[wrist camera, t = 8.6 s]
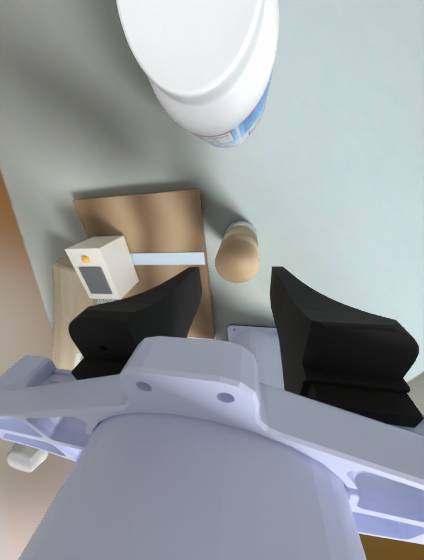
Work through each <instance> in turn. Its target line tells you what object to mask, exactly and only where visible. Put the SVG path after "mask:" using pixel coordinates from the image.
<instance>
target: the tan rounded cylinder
mask: <svg viewBox="0 0 424 560" xmlns="http://www.w3.org/2000/svg"><path fill="white" fill-rule="evenodd" d="M259 265H260V261H259V252H258V243H257V234H256V230H255V228H254V226H253V225H252V224H251V223H249V222H247V221H236V222H233V223H232V224H230V225H229V227H228V228H227V230H226V232H225V235H224V237H223V240H222V243H221V245H220V248H219V251H218V253H217V256H216V259H215V266H216V270H217V272H218V273H219V275H220V276H221V277H222V278H224V279H225V280H227V281H229V282H233V283H243V282H246V281H248V280H250V279H252V278H253V277H254V276H255V275H256V273H257V272H258V270H259Z"/></svg>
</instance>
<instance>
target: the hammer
mask: <svg viewBox="0 0 424 560" xmlns="http://www.w3.org/2000/svg"><path fill="white" fill-rule="evenodd" d="M53 283H54V330H53V353H52V362H53V363H54V364H55V366H56V368H57V369H65V370H73V369H74V368H75V367H76V366H77V365H78V363H79V362H80V361H81V360H82V359H83V358H84V357H83V355H82V354H81V352H80V351H79V349H78V348H77V346H76V345H75V344H74V342H73V341H72V339H71V337H70V335H69V330H68V327H69V323H70V322H71V321H72V320H73V319H74V318H75V317H77V316H78V315H79V314H80V313H81V312H83V311H84V310H85V309H86V308H87V307H89V306H94V305H97V299H93V298H89V296H88V294H87V292H86V290H85V288H84V286H83V284H82V282H81V280H80V278H79V276H78V274H77V273H76V271H75V269H74V267H73V265H72V263H71V261H70V259H69V257H65V258H61V259H60V260H58V261H57V262H55V263H54V264H53ZM48 454H49V452H46V451H43V450H40V449H37V448H33V447H30V446H26V445H23V444H19V443H15V444H14V446H13V447H12V449H11V450H10V452H9V453H8V455H7V460H8V464H9V465H10V466H12V467H14V468H16V469H18V470H20V471H26V472H31V471H33V470H34V469H35V468H36V467H37V466H38V465H39V464H40V463H41V462H43V461H44V460H45V459H46V458H47V455H48Z"/></svg>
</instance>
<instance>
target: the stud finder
mask: <svg viewBox="0 0 424 560" xmlns="http://www.w3.org/2000/svg"><path fill="white" fill-rule="evenodd" d="M65 251H66V253H67V255H68V257H69V259H70V261H71V263H72V265H73V267H74V269H75V271H76V273H77V274H78V276H79V278H80V280H81V282H82V284H83V286H84V288H85V290H86V292H87V294H88V296H89V298H93V299H120V300H121V299H122V298H123V297H124V296H125V295H126V294H127V293H128V292H129V291H130V290H131V289H132V288H133V287H134V285H135V284H136V283H137V282H138V281H139V280H138V277H137V274H136V271H135V268H134V265H133V262H132V259H131V256H130V253H129V250H128V247H127V244H126V241H125V238H124V236H99V237H92V238H89V239H87V240H85V241H82V242H80V243H78V244H75V245H73V246H71V247H68V248H66V249H65Z"/></svg>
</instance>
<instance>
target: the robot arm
mask: <svg viewBox="0 0 424 560" xmlns="http://www.w3.org/2000/svg"><path fill="white" fill-rule="evenodd" d="M201 297H202V285H201V278H200V270H199V267H189V268H187V269H185V270H184V271H182V272H180V273H179V274H177V275H176V276H174V277H172V278H171V279H169V280H167V281H165V282H164V283H162V284H160V285H158V286H156V287H154V288H152V289H150V290H147V291H145V292H142V293H139V294H137V295H134V296H131V297H128V298H124V299H121V300H117V301H113V302H109V303H104V304H99V305H94V306H89V307H87V308H86V309H85V310H84V311H83V312H81V313H80V314H79V315H78V316H77V317H75V318H74V319H73V320H72V321H71V322H70V323H69V327H68V330H69V335H70V337H71V339H72V341H73V342H74V344H75V345H76V346H77V348H78V349H79V351H80V352H81V354H82V355H83V357H84V358H83V359H82V360H81V361H80V362H79V363H78V365H77V366H76V367H75V368H74V369H73V370H65V369H57V368H56V366H55V364H54V363H53V362H52V361H51V360H50V359H48V358H46V357H41V356H33V355H25V356H24V357H23V358H22V359H21V360H19V361H18V362H17V363H16V364H15V365H13V366H12V367H11V368H10V369H9V370H7V371H6V372H5V373H4V374H2V375H1V376H0V438H2V439H4V440H7V441H11V442H15V443H19V444H23V445H26V446H30V447H33V448H37V449H40V450H43V451H46V452H49V453H52V454H55V455H58V456H61V457H64V458H67V459H70V460H73V461H76V463H75V465H74V466H73V468H72V470H71V472H70V473H69V475H68V477H67V478H66V480H65V482H64V483H63V485H62V487H61V488H60V490H59V492H58V493H57V495H56V497H55V498H54V500H53V502H52V503H51V505H50V507H49V508H48V510H47V512H46V514H45V515H44V517H43V519H42V520H41V522H40V524H39V525H38V527H37V529H36V530H35V532H34V534H33V535H32V537H31V539H30V541H29V542H28V544H27V546H26V547H25V549H24V551H23V552H22V554H21V556H20V557H19V559H18V560H366V557H365V553H364V550H363V547H362V543H361V541H360V537H359V533H360V534H366V535H372V536H378V537H384V538H390V539H395V540H401V541H408V542H414V543H419V544H424V415H422V414H421V413H420V411H419V410H418V408H417V407H416V406H415V404H414V403H413V401H412V400H411V399H410V397H409V396H408V394H407V393H408V392H409V391H410V387H409V386H408V384H407V383H406V382H405V380H404V379H403V377H404V376H405V375H406V373H407V372H408V370H409V369H410V368H411V366H412V365H413V363H414V362H415V360H416V358H417V356H418V354H419V346H418V344H417V342H416V341H415V339H414V338H413V337H412V336H411V335H410V334H409V333H408V332H407V331H406V330H405V329H404V328H403V327H402V326H401V325H400V324H399V323H398V322H397V321H396V320H393V319H389V318H386V317H382V316H378V315H375V314H371V313H367V312H364V311H361V310H358V309H355V308H352V307H350V306H347V305H344V304H342V303H340V302H337V301H335V300H333V299H330V298H328V297H326V296H324V295H322V294H320V293H319V292H317V291H315V290H313V289H312V288H310V287H309V286H307V285H306V284H304V283H303V282H301V281H300V280H299V279H297V278H296V277H295V276H293V275H292V274H291V273H290V272H289V271H287V270H286V269H285V268H284V267H272V274H271V286H270V301H271V309H272V313H273V317H274V321H275V325H276V328H267V327H250V326H233V325H230V326H228V329H227V330H228V342H227V341H218V340H205V339H192V338H187V335H188V332H189V329H190V327H191V324H192V322H193V319H194V317H195V315H196V312H197V310H198V307H199V304H200V301H201ZM406 392H407V393H406Z"/></svg>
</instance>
